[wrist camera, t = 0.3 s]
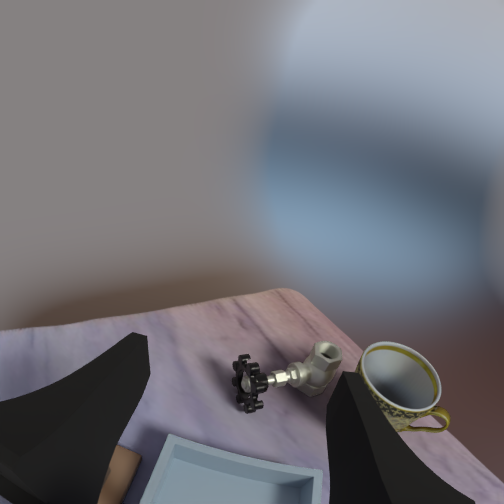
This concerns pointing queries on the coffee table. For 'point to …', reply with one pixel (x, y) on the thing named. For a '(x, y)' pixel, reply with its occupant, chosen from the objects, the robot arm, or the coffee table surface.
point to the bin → (226, 478)
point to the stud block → (119, 476)
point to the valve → (287, 375)
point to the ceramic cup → (402, 385)
